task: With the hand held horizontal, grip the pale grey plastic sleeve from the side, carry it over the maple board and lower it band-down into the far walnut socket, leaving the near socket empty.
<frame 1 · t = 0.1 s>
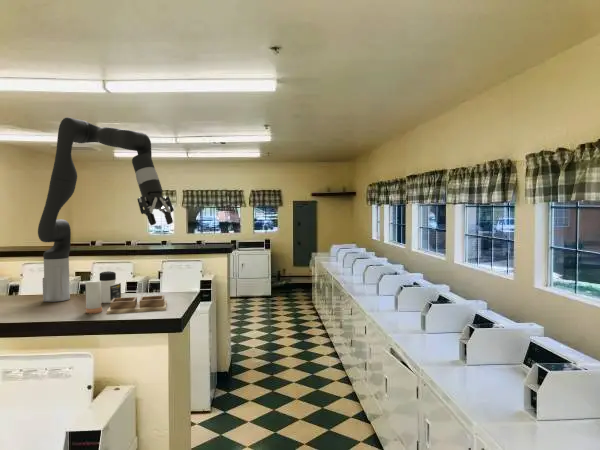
hand: (162, 224, 164), 31 cm above the table, tool tilted 20°, fingers open, 8 cm apart
socket board: (138, 308, 171), on the table
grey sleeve: (94, 311, 165), on the table
medicine bottle: (108, 301, 185), on the table
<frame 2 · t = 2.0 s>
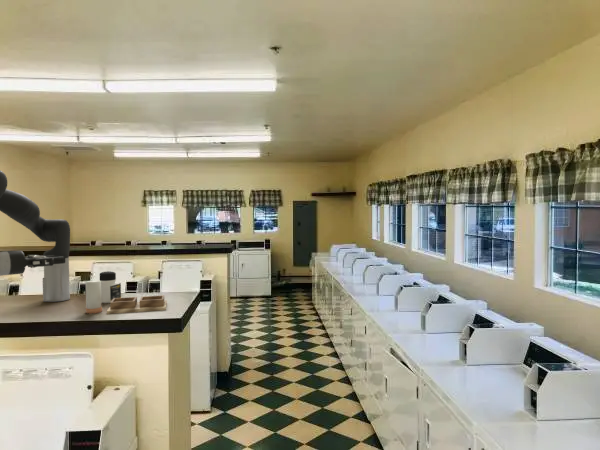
hand: (60, 259, 156), 20 cm above the table, tool horizontal, fingers open, 8 cm apart
nothing on the table moved.
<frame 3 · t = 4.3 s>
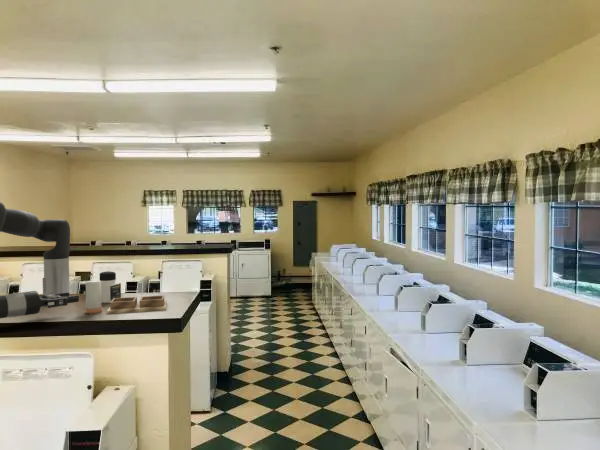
hand: (73, 296, 160), 6 cm above the table, tool horizontal, fingers open, 8 cm apart
nothing on the table moved.
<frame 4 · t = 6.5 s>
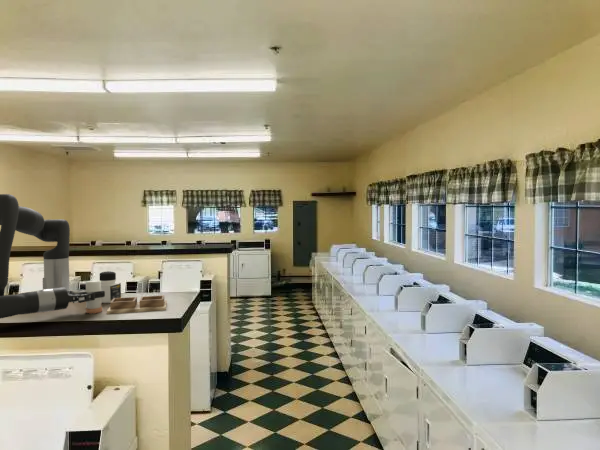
hand: (100, 292, 167), 7 cm above the table, tool horizontal, fingers closed on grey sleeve, 5 cm apart
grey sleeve: (94, 311, 165), on the table, touching gripper
everything else where it was.
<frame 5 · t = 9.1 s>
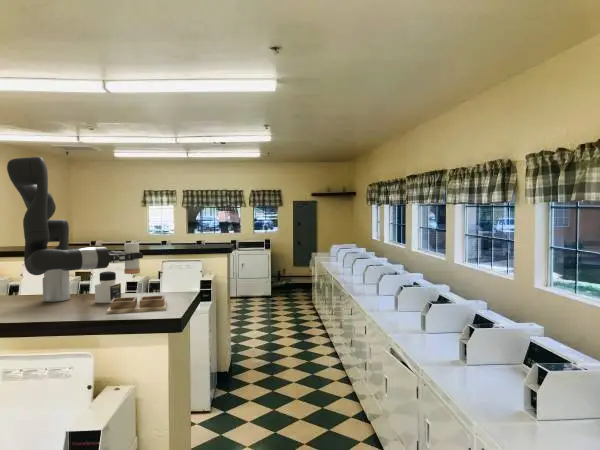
hand: (138, 254, 170), 20 cm above the table, tool horizontal, fingers closed on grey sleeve, 5 cm apart
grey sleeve: (132, 272, 169), point 13 cm above the table, touching gripper
everything else where it was.
when the fingers open (9 cm above the table, at t = 12.0 s): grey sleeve drops 2 cm, resting on socket board.
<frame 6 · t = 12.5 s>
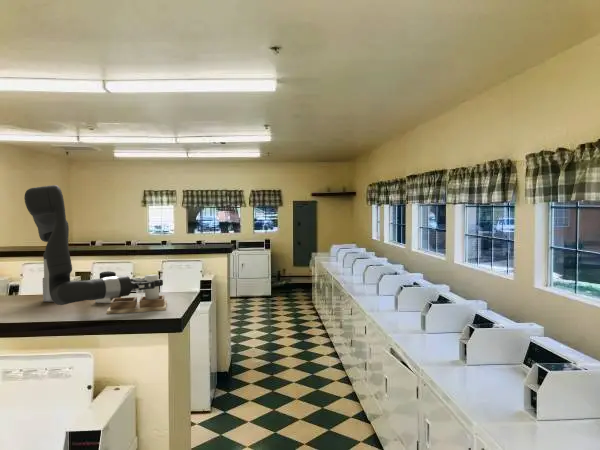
hand: (156, 281, 173), 10 cm above the table, tool horizontal, fingers open, 8 cm apart
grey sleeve: (152, 304, 172), point 1 cm above the table, touching socket board
everything else where it was.
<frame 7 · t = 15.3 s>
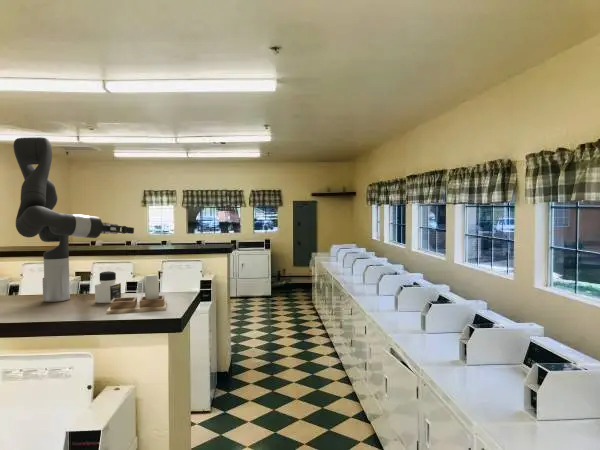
hand: (126, 230, 167), 29 cm above the table, tool horizontal, fingers open, 8 cm apart
nothing on the table moved.
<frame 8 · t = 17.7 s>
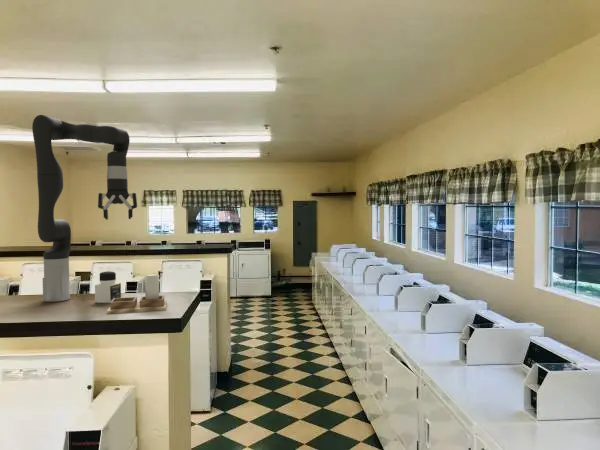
hand: (118, 219, 181), 33 cm above the table, tool pointing down, fingers open, 8 cm apart
nothing on the table moved.
at the end: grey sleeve 0.1 cm from the target spot on the socket board, point 1.1 cm above the socket board's base; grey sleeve tilted 1°; the gripper is holding nothing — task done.
